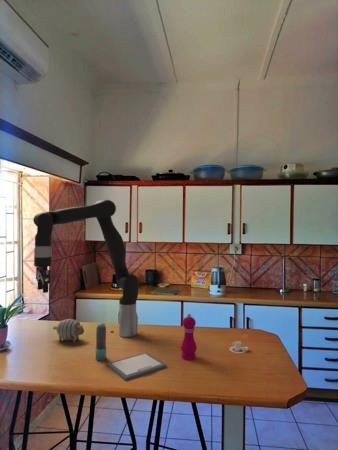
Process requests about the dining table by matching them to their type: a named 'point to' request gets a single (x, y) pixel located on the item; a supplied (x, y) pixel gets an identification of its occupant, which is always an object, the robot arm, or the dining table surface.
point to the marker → (101, 342)
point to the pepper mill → (188, 339)
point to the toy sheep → (69, 330)
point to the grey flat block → (136, 366)
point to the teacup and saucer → (238, 347)
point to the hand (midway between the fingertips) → (42, 291)
